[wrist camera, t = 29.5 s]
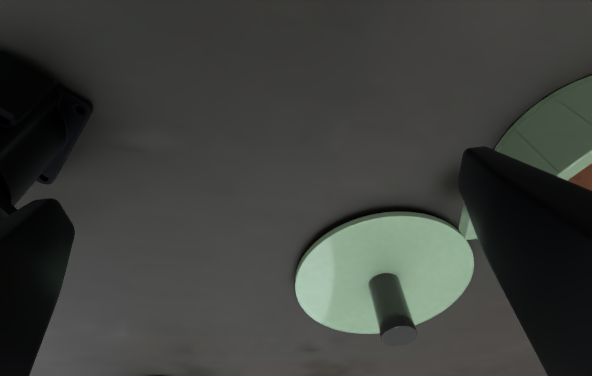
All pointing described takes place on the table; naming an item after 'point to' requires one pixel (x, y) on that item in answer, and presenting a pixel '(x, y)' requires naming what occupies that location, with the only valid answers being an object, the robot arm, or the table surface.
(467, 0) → the table surface
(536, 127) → the pot
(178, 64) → the table surface
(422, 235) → the pot lid
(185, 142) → the table surface
